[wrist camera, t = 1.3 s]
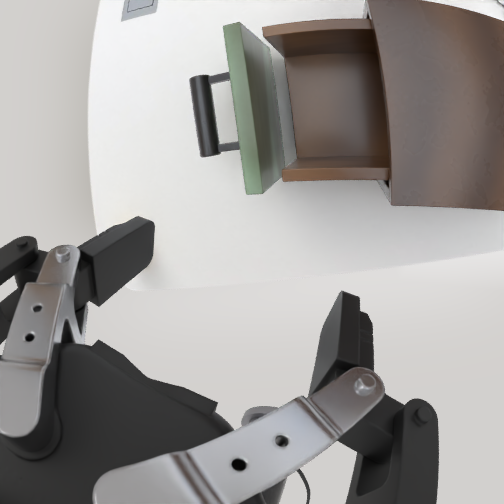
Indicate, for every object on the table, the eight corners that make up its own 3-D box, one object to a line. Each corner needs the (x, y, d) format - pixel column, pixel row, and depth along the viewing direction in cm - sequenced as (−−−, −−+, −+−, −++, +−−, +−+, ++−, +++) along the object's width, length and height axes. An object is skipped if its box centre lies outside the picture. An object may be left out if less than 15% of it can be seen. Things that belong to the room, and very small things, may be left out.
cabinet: (374, 176, 23) (391, 205, 15) (359, 37, 18) (365, -5, 10) (504, 184, 19) (558, 216, 10) (496, 56, 13) (548, 40, 5)
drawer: (229, 177, 27) (189, 199, 20) (212, 59, 22) (166, 43, 15) (420, 173, 21) (450, 194, 14) (408, 43, 16) (431, 14, 9)
